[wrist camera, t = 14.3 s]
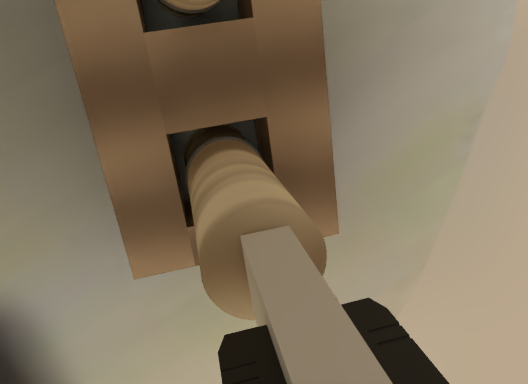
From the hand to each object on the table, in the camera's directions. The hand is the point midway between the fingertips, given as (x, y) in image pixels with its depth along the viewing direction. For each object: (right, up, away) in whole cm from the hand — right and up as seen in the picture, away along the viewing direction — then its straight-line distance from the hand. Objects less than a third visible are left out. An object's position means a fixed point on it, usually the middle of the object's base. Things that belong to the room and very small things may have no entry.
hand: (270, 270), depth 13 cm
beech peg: (-3, +5, +13) cm, 14 cm away
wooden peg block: (-4, +9, +11) cm, 15 cm away
